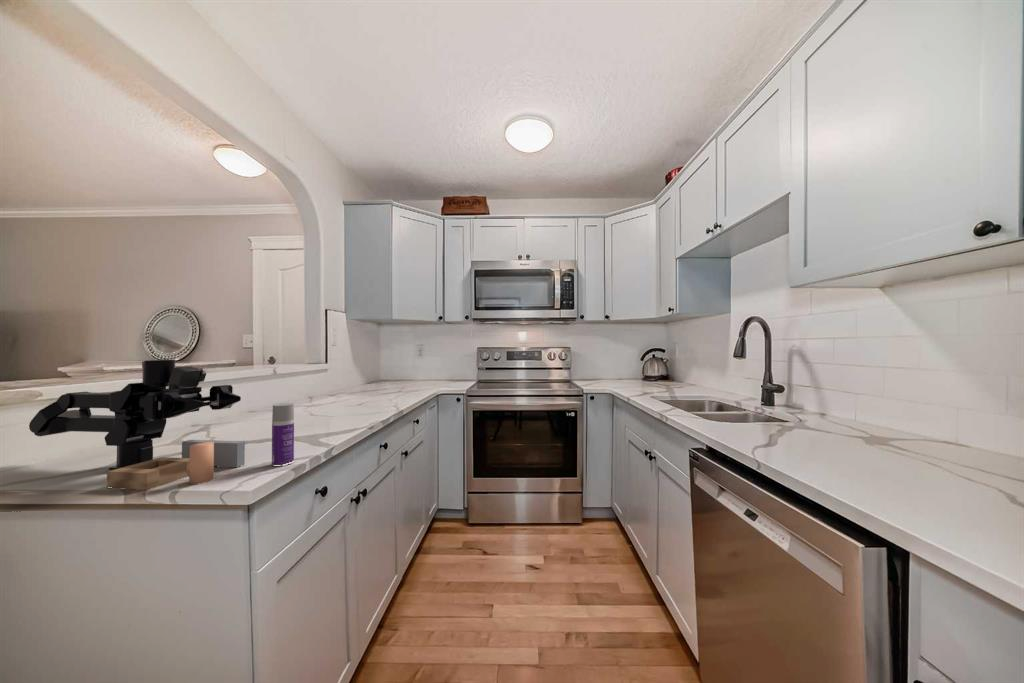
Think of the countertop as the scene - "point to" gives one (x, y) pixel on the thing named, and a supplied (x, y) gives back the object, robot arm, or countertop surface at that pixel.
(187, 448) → the backstop wall
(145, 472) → the socket block
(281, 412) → the container
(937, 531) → the countertop surface
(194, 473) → the dowel
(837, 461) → the countertop surface
